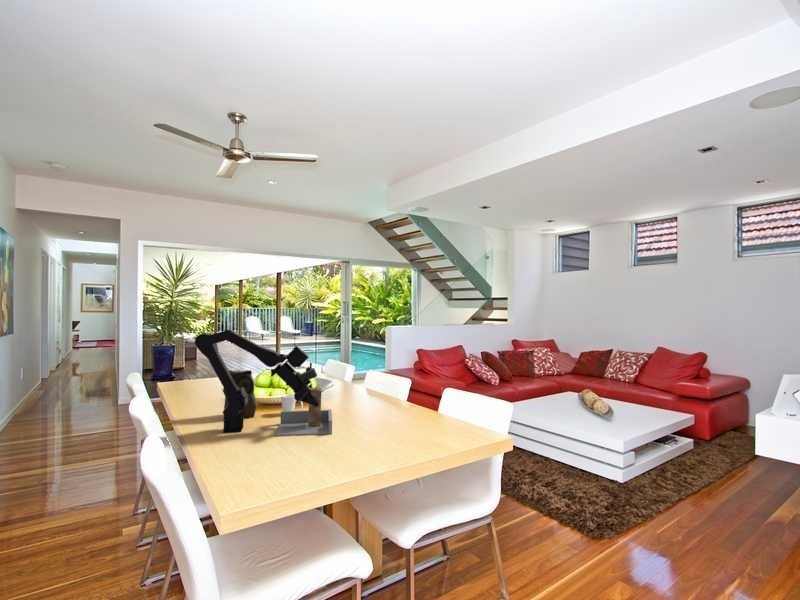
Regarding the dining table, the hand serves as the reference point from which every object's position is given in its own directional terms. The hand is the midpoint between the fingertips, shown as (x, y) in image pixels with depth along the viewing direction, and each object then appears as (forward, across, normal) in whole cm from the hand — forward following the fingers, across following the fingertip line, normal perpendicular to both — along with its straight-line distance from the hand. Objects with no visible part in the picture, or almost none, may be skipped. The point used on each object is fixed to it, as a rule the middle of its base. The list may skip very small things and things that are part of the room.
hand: (318, 403), depth 166 cm
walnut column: (+5, 0, +7) cm, 8 cm away
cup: (-2, +22, +15) cm, 26 cm away
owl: (-16, +22, +29) cm, 40 cm away
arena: (+3, -2, +10) cm, 10 cm away
